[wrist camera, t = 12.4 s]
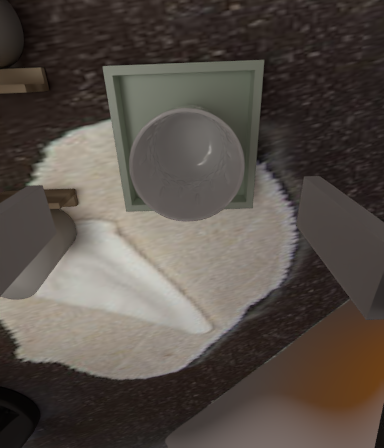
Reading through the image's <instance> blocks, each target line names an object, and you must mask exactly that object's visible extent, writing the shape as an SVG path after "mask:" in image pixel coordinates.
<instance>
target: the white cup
mask: <svg viewBox="0 0 384 448" xmlns="http://www.w3.org/2000/svg"><path fill="white" fill-rule="evenodd" d="M244 169H245V161H244V154H243V150H242V147H241V144H240V142H239V140H238V138H237V136H236V135H235V133H234V132H233V130H232V129H231V128H230V127H229V126H228V125H227V124H226V123H225V122H224V121H223V120H221V119H220V118H219V117H218V116H216V115H215V114H214V113H212V112H211V111H209V110H207V109H205V108H202V107H200V106H195V105H182V106H177V107H174V108H171V109H169V110H167V111H165V112H163V113H161V114H159V115H158V116H156V117H154V118H153V119H151V120H150V121H149V122H148V123H147V124H146V125H145V126H144V127H143V128H142V129H141V130H140V132H139V133H138V135H137V136H136V138H135V140H134V142H133V145H132V148H131V152H130V157H129V171H130V176H131V180H132V183H133V186H134V188H135V190H136V192H137V194H138V195H139V197H140V198H141V199H142V200H143V202H144V203H145V204H146V205H147V206H148V207H150V208H151V209H152V210H153V211H155V212H156V213H158V214H160V215H162V216H164V217H167V218H169V219H173V220H178V221H197V220H202V219H206V218H208V217H211V216H213V215H215V214H217V213H218V212H220V211H221V210H223V209H224V208H225V207H226V206H227V205H228V204H229V203H230V202H231V201H232V200H233V199H234V197H235V196H236V194H237V193H238V191H239V189H240V186H241V184H242V181H243V176H244Z"/></svg>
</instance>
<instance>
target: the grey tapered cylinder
mask: <svg viewBox="0 0 384 448" xmlns="http://www.w3.org/2000/svg"><path fill="white" fill-rule="evenodd" d="M50 212H51V215H52V218H53V222H54V225H55V228H56V232H57V234H56V235H55V236H54V237H53V238H52V239H51V240H50V241H49V242H48V244H47V245H46V246H45V247H44V248H43V249H42V250H41V251H40V253H39V254H38V255H37V256H36V257H35V258H34V259H33V260H32V262H31V263H30V264H29V265H28V266H27V267H26V268H25V269H24V270H23V272H22V273H21V274H20V275H19V276H18V277H17V278H16V279H15V281H14V282H13V283H12V284H11V285H10V286H9V287H8V288H7V290H6V291H5V292H4V293H3V294H2V295H1V297H4V298H8V299H25V298H28V297H31V296H32V295H34V294H35V293H36V292H37V290H38V289H39V288H40V286H41V285H42V284H43V282H44V281H45V280H46V278H47V277H48V276H49V274H50V273H51V272H52V270H53V269H54V268H55V266H56V265H57V264H58V262H59V261H60V260H61V258H62V257H63V256H64V254H65V253H66V251H67V250H68V249H69V247H70V246H71V245H72V243H73V242H74V241H75V239H76V235H77V230H76V226H75V224H74V222H73V220H72V219H71V218H70V217H69V216H68V215H67V214H66V213H65V212H63V211H62V210H60V209H50Z"/></svg>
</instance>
